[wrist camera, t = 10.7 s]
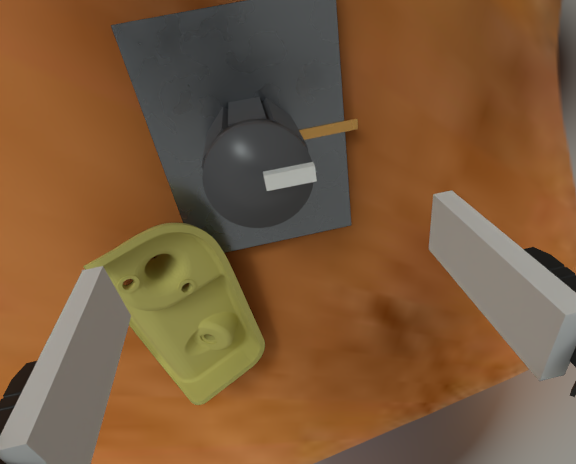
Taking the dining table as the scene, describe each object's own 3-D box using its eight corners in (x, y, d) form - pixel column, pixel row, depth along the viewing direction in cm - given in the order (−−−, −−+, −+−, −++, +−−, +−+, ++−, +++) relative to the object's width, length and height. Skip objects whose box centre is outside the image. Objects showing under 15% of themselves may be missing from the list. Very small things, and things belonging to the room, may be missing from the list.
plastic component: (270, 353, 39) (187, 417, 35) (237, 314, 44) (162, 366, 40) (202, 201, 27) (66, 276, 23) (168, 173, 32) (53, 230, 28)
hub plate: (117, 24, 23) (87, 29, 18) (343, -18, 24) (375, -24, 19) (197, 249, 33) (192, 292, 28) (356, 214, 34) (380, 251, 29)
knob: (221, 191, 29) (218, 242, 23) (197, 107, 25) (186, 140, 19) (302, 175, 29) (321, 221, 23) (289, 89, 25) (309, 116, 19)
